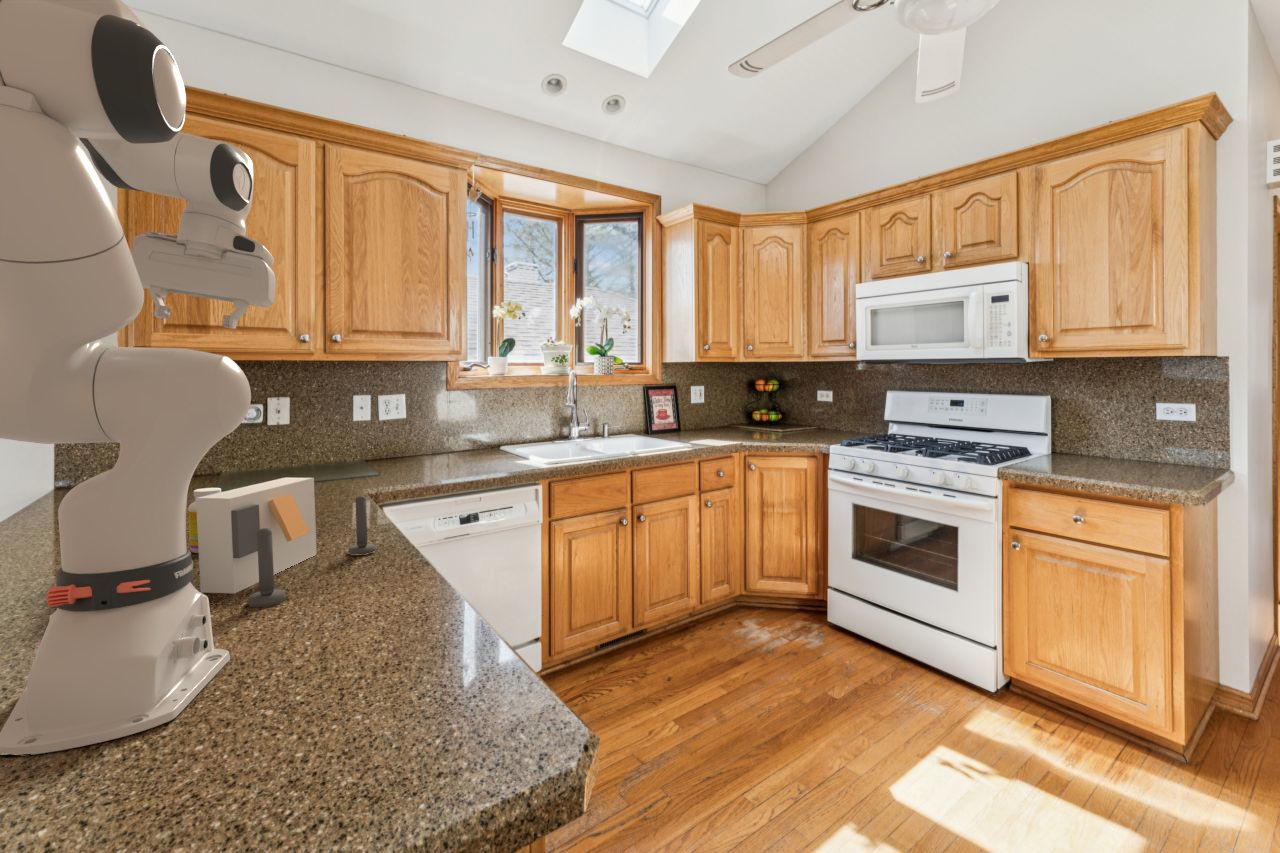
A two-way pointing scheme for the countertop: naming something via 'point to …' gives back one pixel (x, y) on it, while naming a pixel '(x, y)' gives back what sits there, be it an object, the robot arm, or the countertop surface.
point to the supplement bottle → (193, 516)
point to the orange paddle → (288, 517)
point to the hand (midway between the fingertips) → (195, 322)
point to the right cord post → (361, 529)
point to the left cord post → (266, 574)
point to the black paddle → (245, 530)
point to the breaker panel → (217, 528)
